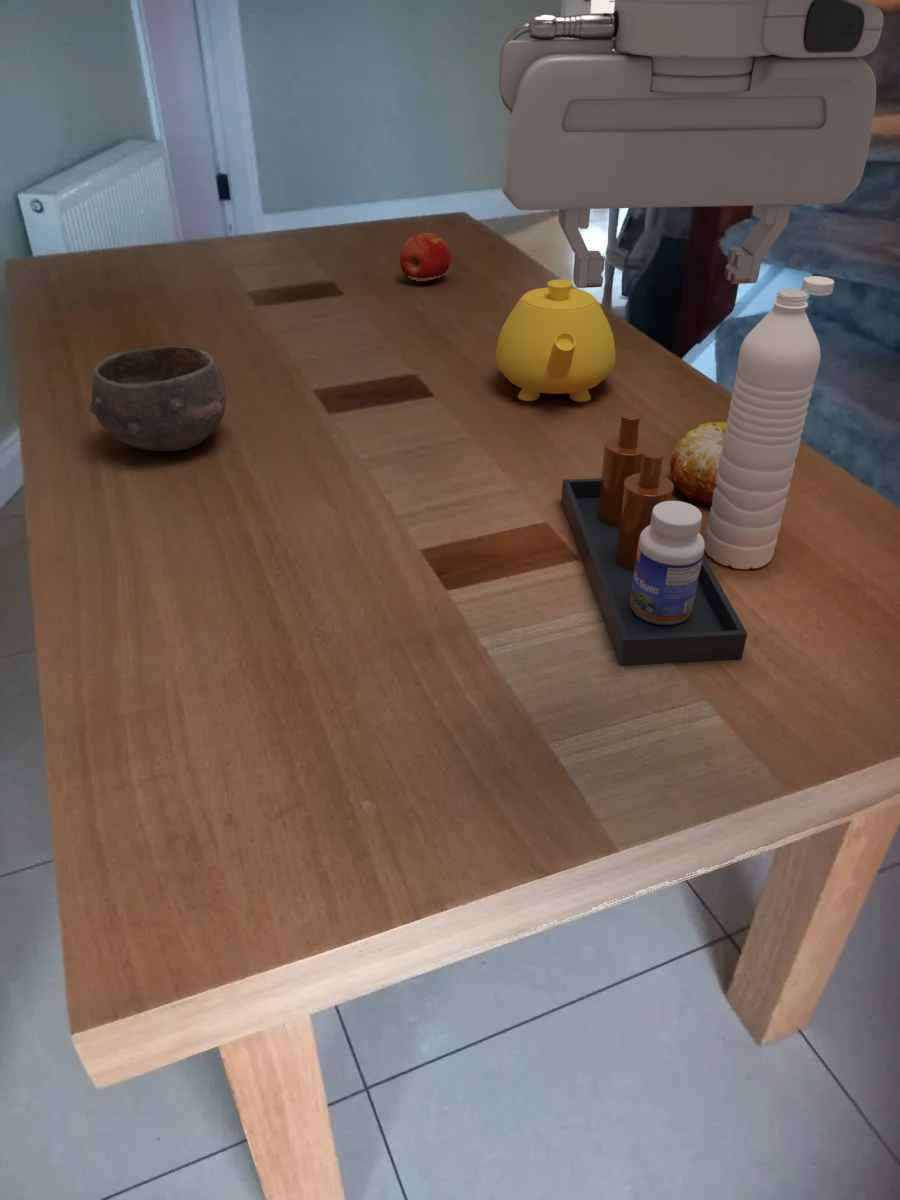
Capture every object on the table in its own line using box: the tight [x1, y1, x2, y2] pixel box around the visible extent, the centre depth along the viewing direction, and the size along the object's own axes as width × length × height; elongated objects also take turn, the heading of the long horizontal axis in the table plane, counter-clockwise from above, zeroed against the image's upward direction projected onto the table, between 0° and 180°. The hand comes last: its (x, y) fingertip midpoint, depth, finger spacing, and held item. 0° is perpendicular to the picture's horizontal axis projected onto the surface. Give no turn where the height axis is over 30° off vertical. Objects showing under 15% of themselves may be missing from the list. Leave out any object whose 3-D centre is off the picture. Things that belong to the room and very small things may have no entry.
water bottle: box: [704, 275, 835, 570], centre depth 82 cm, size 9×6×25 cm
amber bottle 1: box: [597, 411, 652, 527], centre depth 90 cm, size 4×4×11 cm
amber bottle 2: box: [615, 448, 675, 571], centre depth 83 cm, size 4×4×11 cm
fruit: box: [669, 421, 727, 507], centre depth 97 cm, size 11×10×8 cm
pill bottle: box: [630, 500, 705, 625], centre depth 77 cm, size 5×5×10 cm
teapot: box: [494, 279, 617, 403], centre depth 116 cm, size 20×16×14 cm
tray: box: [560, 477, 748, 666], centre depth 85 cm, size 27×10×3 cm, turn 4°
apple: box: [399, 232, 452, 284], centre depth 158 cm, size 8×8×8 cm
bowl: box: [88, 345, 227, 452], centre depth 105 cm, size 14×15×10 cm
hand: (664, 283), depth 56 cm, fingers open, 8 cm apart
